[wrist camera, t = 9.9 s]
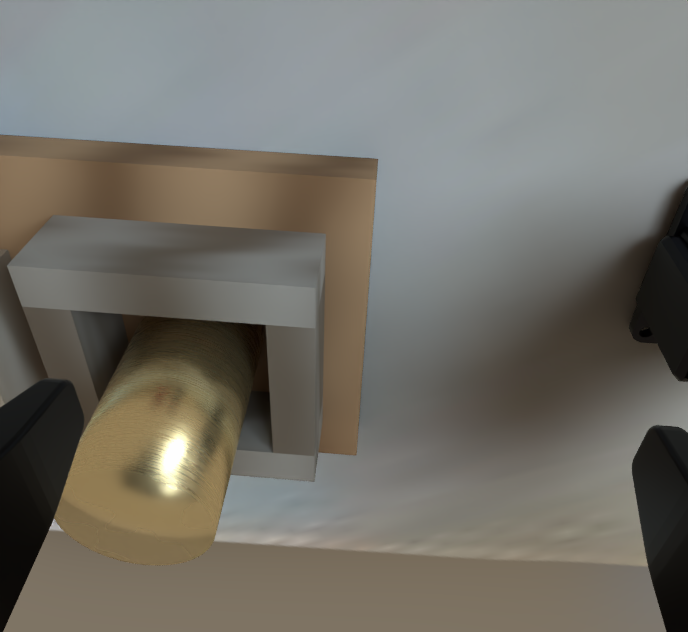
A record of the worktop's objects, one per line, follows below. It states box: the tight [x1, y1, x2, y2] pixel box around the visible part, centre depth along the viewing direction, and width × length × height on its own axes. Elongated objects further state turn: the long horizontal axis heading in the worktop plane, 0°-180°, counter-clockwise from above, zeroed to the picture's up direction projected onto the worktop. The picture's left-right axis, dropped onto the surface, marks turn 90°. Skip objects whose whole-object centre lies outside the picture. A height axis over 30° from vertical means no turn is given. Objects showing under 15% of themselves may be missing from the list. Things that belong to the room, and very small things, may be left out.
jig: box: [0, 135, 378, 482], centre depth 22 cm, size 18×13×4 cm
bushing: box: [54, 316, 264, 565], centre depth 19 cm, size 4×4×8 cm
